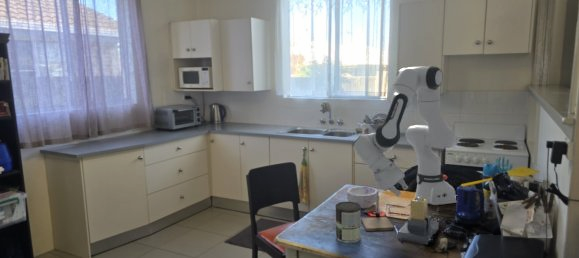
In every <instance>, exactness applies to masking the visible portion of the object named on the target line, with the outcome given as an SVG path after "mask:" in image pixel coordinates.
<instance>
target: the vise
mask: <svg viewBox="0 0 579 258" xmlns="http://www.w3.org/2000/svg"><path fill="white" fill-rule="evenodd" d="M416 201H422V197H420V196H418V197H416ZM410 218H411V216H410V217H408V218H407V220H406V222H405V223H404V224H403V225H402V227H401V228H400V229H399V230H398V231H397V240H403V241H407V242H413V243H415V244H422V245H425V246H426V245H427V246H428V244H429V243H428V241H429V239H430V238H431V236H432V235H433V234H436V233H437V232H438V231H439V226H440V225H439V224H440V223H439V221H432V220H431V218H432V216H431V215H428V214H427V218H426V219H425V220H424V221H420V220H414V219H410Z"/></svg>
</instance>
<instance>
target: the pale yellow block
mask: <svg viewBox="0 0 579 258" xmlns="http://www.w3.org/2000/svg"><path fill="white" fill-rule="evenodd" d="M427 200H428V199H426V198H422V201H416V197H415V196H413V197H412V199H410V217H411V218H410V217H409V218H410V219H414V220H420V221H424V220H425V219H426V218H427V215H428V203H427Z"/></svg>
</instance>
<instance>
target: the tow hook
mask: <svg viewBox="0 0 579 258" xmlns="http://www.w3.org/2000/svg"><path fill="white" fill-rule="evenodd" d="M379 201H380V195H379V191H378V190H377V196H376V202H375V210H370V211H368V212H367V215H368V216H369V218H376V217H386V216H387V213H386V212H385V211H383V210H380V206H379V205H380V202H379ZM373 212H375V213H373ZM380 212H381V213H383V214H381V213H380ZM371 213H372V214H371ZM385 215H386V216H385Z"/></svg>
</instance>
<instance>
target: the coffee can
mask: <svg viewBox="0 0 579 258" xmlns="http://www.w3.org/2000/svg"><path fill="white" fill-rule="evenodd" d="M361 209H362V208H361V206H360V204H358V203H355V202H349V201H340V202H337V203H336V204H335V231H336V233H335V238H336V240H337V241H338V242H340V243H345V244H353V243H357V242H359V241H360V240H361V237H362V236H361Z"/></svg>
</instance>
